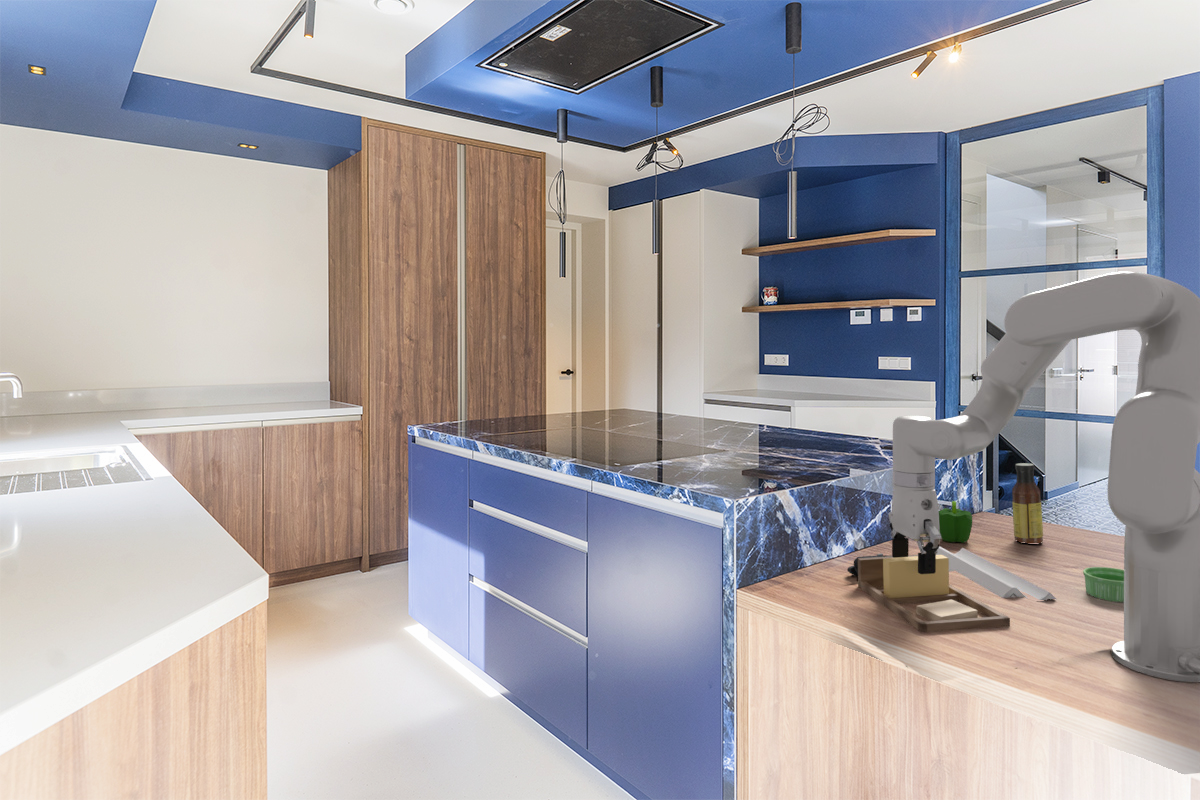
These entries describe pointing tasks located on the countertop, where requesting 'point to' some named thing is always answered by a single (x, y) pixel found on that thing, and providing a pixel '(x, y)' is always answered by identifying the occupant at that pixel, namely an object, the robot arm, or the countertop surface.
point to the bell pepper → (955, 524)
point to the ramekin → (1105, 583)
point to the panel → (914, 577)
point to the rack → (873, 578)
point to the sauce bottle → (1027, 506)
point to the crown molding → (992, 575)
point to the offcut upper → (946, 611)
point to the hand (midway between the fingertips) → (913, 565)
